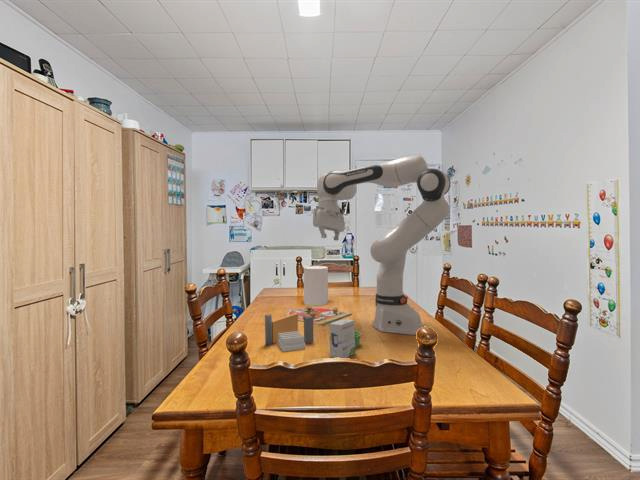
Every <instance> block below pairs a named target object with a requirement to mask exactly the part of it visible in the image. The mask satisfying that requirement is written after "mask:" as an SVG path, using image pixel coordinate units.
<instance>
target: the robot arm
mask: <svg viewBox="0 0 640 480" xmlns="http://www.w3.org/2000/svg"><path fill="white" fill-rule="evenodd" d="M368 183H369V184H375V185H378V186H381V187H384V188H396V187H400V186H405V185H408V184H413V183H415V184H416V186H417V189H418V191H419V194H420V195H421V199H423V201H422V202H421V204H420V205H419V206H417V207H416V208H415V209H414V210H413V211H412V212H410V213H409V215H407V216H406V217H405V218H403V220H401V221H400V222H399V223H398V224H396V225H395V226H394V227H392V228H391V229H389V230H387V232H385V233H384V234H383V235H381V236H380V237H379V238H377V239H376V240H375V241H374V242H373V243H372V244H371V246H370V249H369V251H370V256H371V257H372V259H373V260H374V261H376V262H377V263H380V264H379V268H378V271H377V274H376V293H375V315H374V319H373V322H372V323H373V324H372V327H373V328H375V329H377V330H378V331H379V332H380V333H388V334H389V333H390V334H391V333H392V334H399V335H401V334H402V335H411V336H413V335H414V336H417V335H416V332H417V330H418V329H419V328H421V327H424V326H426V327H427V325H426V324H425V323H422V319H421V315H420V313H419V312H418V311H416V310H415V309H414V308H413V307H411V306H410V304H408V299H409V296H408V295H407V296H406V295H404V291H403V290H404V287H403V285H404V271H405V265H406V259H407V258H406V257H407V253H408V250H410V249H411V248H412V247H414V246H415V245H417V244H418V243H419V242H422V240H423V239H424V238H425V237H427V236H428V235H429V234H430V233H432V232H433V231H434V230H435V229H436V228H437V227H438V226H439V225H440V224H441V223H442V222H443V221H444V220H445V219H446V218H447V217H448V215H449V214H450V211H451V207H450V204H449V202H448V201H447V200H446V198H445V195H446V194H448V192H449V191H450V189H451V184H452V183H451V178H450V177H449V175H448V174H446V172H445V171H442V170H441V169H437V168H429V167H428V164H427V162H426V160H425V158H424V157H423V156H421V155H410V156H404V157H399V158H397V159H393V160H392V159H391V160H389V161H386V162H383V163H377V164H371V165H367V166H362V167H358V168H354V169H350V170H346V171H341V170H332V171H330V172H328V173H325V174H322V175H320V176H319V177H318V180H317V184H316V185H317V186H316V189H317V192H316V193H317V198H318V202H317V205H316V206H315V207H314V209H313V215H312V225H313V226H314V228H318V231H319V232H320V234H321V235H320V237H321V239H326V238H327V233H326V232H325V231H332V232H333V233H334V236H333V241H336V242H337V241H339V240H340V237H339V236H340V233H341V232H344V231H345V227H346V226H345V225H346V224H345V217H344V216H345V210H343V209H342V208H341V207H340V206H339V204H338V201H347V200H348V201H349V200H351V199H352V198H353V197H355V196H356V194H357V185H361V184H368Z"/></svg>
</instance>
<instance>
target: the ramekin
mask: <svg viewBox="0 0 640 480" xmlns="http://www.w3.org/2000/svg"><path fill="white" fill-rule="evenodd" d="M361 336H362V333H361V332H359V331H358V330H355V349H356V348H359V346H360V344H361V343H360V342H361Z"/></svg>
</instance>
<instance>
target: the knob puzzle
mask: <svg viewBox="0 0 640 480" xmlns="http://www.w3.org/2000/svg"><path fill="white" fill-rule="evenodd" d="M294 313H296V314H298V322H302V323H304V319H303V316H312V317H313V325H318V326H325V325H329V324H330V323H332V322H336V321H339V320H342V319H346V318H347V317H350V316H352V315H353V313H352V312H349V311H344V310H339V308H338V307H332V308H331V307H313V306H312V305H306V306H305V307H299V308H298V307H297V308H289V309H288V310H287V311H286V312H285V316H288V315H291V314H294Z"/></svg>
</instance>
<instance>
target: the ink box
mask: <svg viewBox="0 0 640 480" xmlns="http://www.w3.org/2000/svg"><path fill="white" fill-rule="evenodd" d="M328 325H329V330H328V331H329V358H331V357H340V358H346V359H348V358H349V357H352V356H353V355H355V354H356V348H355V331H356V330H355V328H356V327H355V320H353V319H347V318H343V319H340V320H337V321H335V322H332V323H329V324H328Z"/></svg>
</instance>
